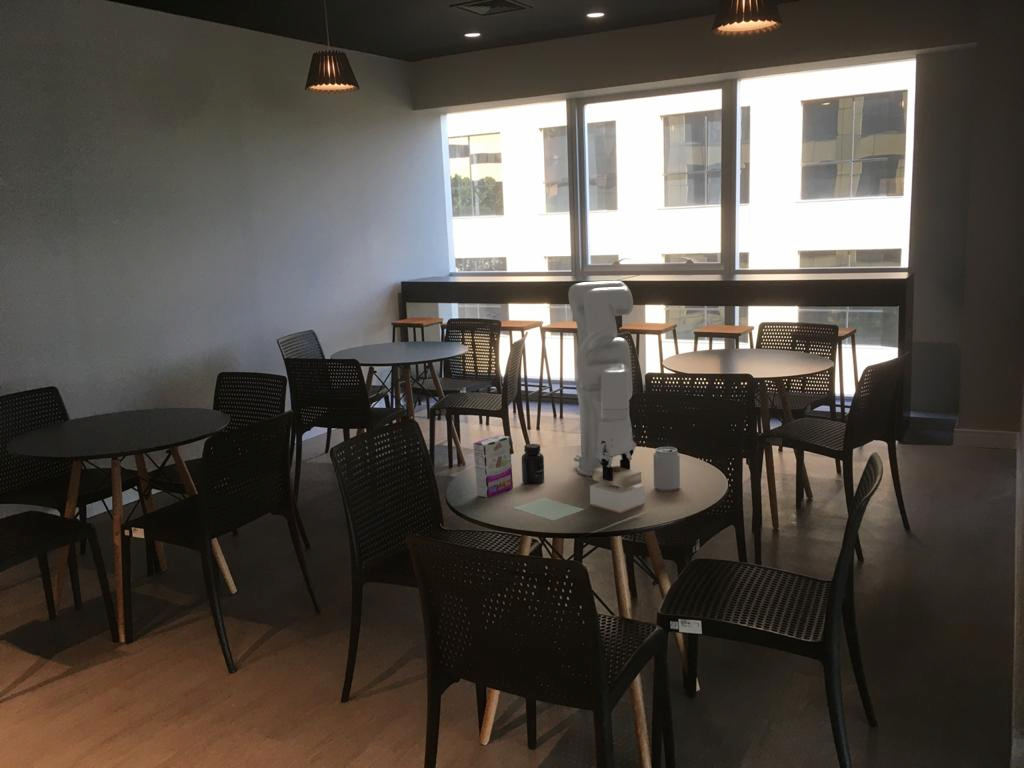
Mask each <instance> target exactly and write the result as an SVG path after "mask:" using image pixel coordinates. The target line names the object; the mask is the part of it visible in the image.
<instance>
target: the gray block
mask: <svg viewBox="0 0 1024 768" xmlns="http://www.w3.org/2000/svg"><path fill="white" fill-rule="evenodd" d="M589 500H590V502H589V503H590V506H592V507H596V508H600V509H604V510H606V511H607V510H608V511H611V512H615V513H617V514H622V513H625V512H628V511H631V510H633V509H636V508H639V507H642V506H645V485H644V484H641V483H639V484H636V485H633V486H631V487H628V488H623V487H619V486H615V485H611V484H607V483H604V482H600V481H599V482H597V483H595V484H592V485H589Z"/></svg>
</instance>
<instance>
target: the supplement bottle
mask: <svg viewBox="0 0 1024 768" xmlns="http://www.w3.org/2000/svg"><path fill="white" fill-rule="evenodd" d="M523 451H524V453H523V454H522V456H521V479H522V480H521V482H522V484H523V485H525V486H528V485H529V486H532V485H533V486H537V485H541V484H544V482H545V460H544V459H545V458H544V454H543V453H542V452H541V444H538V443H528V444H525V445H524V448H523Z"/></svg>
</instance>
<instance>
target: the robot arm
mask: <svg viewBox="0 0 1024 768" xmlns="http://www.w3.org/2000/svg"><path fill="white" fill-rule="evenodd" d="M568 302H569V307H570V312H571V313H572V315H573V318H574V320H575V323H576V326H577V327H576V328H577V330H576V331H577V344H578V345H577V346H578V350H577V354H576V368H577V369H576V370H577V377H578V378H577V380H576V382H575V383H576V385H575V387H576V394H577V399H578V400H577V401H578V407H579V409H578V410H579V425H580V430H579V431H580V453H577V454H576V456H575V457H574V458H573V461H574V462H578V463H579V464H578V465H577V467H576V472H577V474H579V475H583V476H586V477H589V476H590V477H593V469H595V468H598V467H603V479H604V480H607V481H613V467H611V465H613V466H616V465H615V464H613V458H614V457H618V456H620V459H619V466H620V467H621V468H626V469H630V470H631V461H632V459H633V458H632V456H633V454H634V451H635V449H636V447H637V443H636V442H635V441H634V440H633V439H634V437H633V430H632V429H633V428H632V422H631V418H630V400H631V398H632V396H633V375H632V373H633V371H632V360H631V357H632V356H631V350H630V345H629V343H628V341H627V339H625V338H623V337H618V332H619V331H618V326H617V322H616V317H617V316H629V315H630V314H632V311H633V308H634V298H633V295H632V291H631V289H630V288H629V287H628V285H627V284H625V282H623V281H621V280H607V281H606V280H604V281H584V282H583V281H581V282H579V283H574V284H572V285H571V286H570V287H569V289H568Z"/></svg>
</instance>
